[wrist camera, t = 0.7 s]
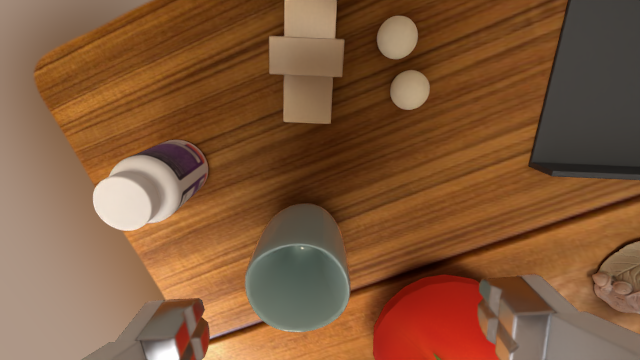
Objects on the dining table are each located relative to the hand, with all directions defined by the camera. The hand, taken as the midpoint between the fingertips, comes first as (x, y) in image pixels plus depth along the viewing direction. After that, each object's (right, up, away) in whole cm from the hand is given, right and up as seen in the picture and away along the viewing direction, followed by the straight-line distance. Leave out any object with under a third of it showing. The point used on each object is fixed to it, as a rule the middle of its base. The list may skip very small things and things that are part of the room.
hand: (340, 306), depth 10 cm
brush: (-1, +14, +19) cm, 23 cm away
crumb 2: (+7, +11, +18) cm, 22 cm away
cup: (-2, -1, +24) cm, 24 cm away
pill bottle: (-14, +5, +22) cm, 26 cm away
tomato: (+12, -11, +27) cm, 32 cm away
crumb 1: (+6, +15, +17) cm, 23 cm away
